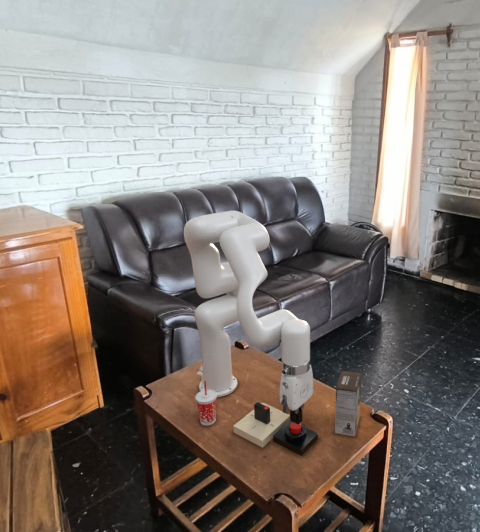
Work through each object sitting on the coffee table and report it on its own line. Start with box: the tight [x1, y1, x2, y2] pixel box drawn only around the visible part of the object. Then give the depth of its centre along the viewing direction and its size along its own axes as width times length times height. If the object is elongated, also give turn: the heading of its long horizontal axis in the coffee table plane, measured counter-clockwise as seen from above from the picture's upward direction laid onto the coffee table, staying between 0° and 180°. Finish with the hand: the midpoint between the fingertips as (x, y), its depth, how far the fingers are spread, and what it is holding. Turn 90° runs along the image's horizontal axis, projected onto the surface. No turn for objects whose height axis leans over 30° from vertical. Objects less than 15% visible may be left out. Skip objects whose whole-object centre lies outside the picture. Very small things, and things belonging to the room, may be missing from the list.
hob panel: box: [232, 402, 290, 448], centre depth 130 cm, size 11×13×3 cm
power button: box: [290, 422, 302, 434], centre depth 124 cm, size 3×3×2 cm
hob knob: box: [253, 401, 270, 424], centre depth 129 cm, size 5×2×5 cm, turn 58°
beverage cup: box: [195, 381, 218, 427], centre depth 130 cm, size 6×6×14 cm
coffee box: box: [334, 370, 363, 437], centre depth 130 cm, size 9×6×16 cm
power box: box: [272, 421, 319, 457], centre depth 125 cm, size 10×8×4 cm
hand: (296, 421), depth 123 cm, fingers closed
